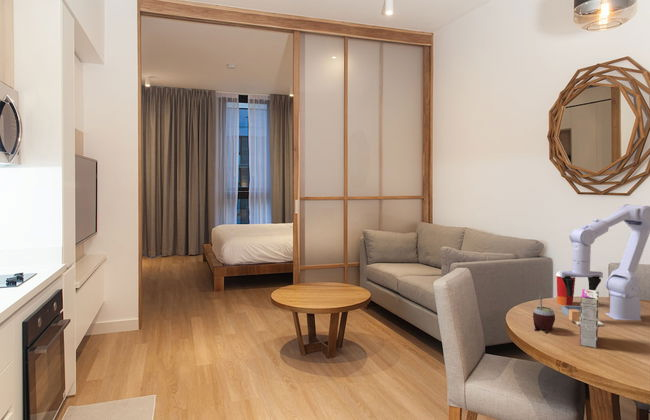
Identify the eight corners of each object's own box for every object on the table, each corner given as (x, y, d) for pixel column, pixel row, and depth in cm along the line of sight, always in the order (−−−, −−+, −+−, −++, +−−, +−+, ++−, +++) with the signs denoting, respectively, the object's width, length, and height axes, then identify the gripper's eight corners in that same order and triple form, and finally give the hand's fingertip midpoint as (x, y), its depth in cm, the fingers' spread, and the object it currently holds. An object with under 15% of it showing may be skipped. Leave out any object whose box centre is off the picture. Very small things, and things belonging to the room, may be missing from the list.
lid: (593, 320, 166) (594, 308, 166) (603, 326, 159) (603, 314, 159) (566, 319, 167) (566, 307, 167) (574, 326, 160) (574, 313, 160)
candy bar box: (580, 335, 152) (582, 288, 151) (597, 337, 149) (599, 290, 148) (579, 345, 143) (580, 296, 141) (597, 348, 140) (599, 298, 139)
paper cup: (573, 303, 190) (574, 271, 189) (577, 308, 182) (578, 275, 181) (553, 301, 192) (554, 270, 191) (556, 306, 185) (557, 273, 184)
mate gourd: (549, 327, 160) (550, 287, 159) (559, 335, 152) (560, 292, 151) (528, 327, 160) (529, 286, 159) (537, 334, 152) (538, 292, 151)
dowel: (578, 313, 174) (578, 309, 175) (580, 313, 173) (580, 309, 173) (571, 313, 175) (570, 308, 175) (573, 313, 173) (572, 308, 173)
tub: (582, 313, 175) (582, 306, 175) (590, 318, 169) (590, 311, 169) (561, 312, 176) (561, 305, 176) (568, 318, 170) (568, 310, 170)
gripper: (596, 258, 168) (595, 293, 169) (556, 258, 169) (555, 293, 170) (606, 262, 161) (605, 298, 162) (564, 262, 162) (563, 298, 163)
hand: (580, 296), depth 165 cm, fingers open, 7 cm apart
